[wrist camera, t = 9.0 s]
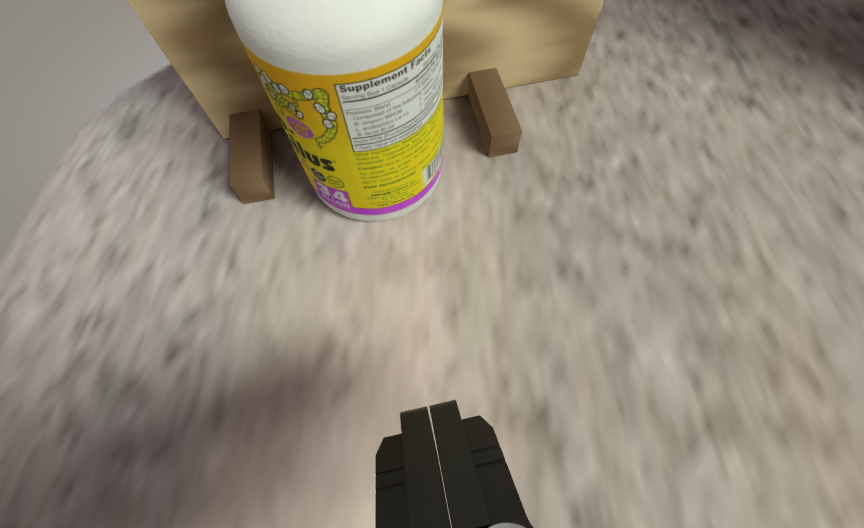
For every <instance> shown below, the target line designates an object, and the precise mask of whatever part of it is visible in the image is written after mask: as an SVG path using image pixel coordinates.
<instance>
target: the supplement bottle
mask: <svg viewBox="0 0 864 528" xmlns="http://www.w3.org/2000/svg"><path fill="white" fill-rule="evenodd" d="M225 4H226V8H227V11H228V14H229V17H230V19H231V21H232V23H233V25H234V28H235V30H236V32H237V34H238V36H239V38H240V40H241V42H242V44H243V46H244V48H245V50H246V52H247V54H248V56H249V58H250V60H251V62H252V64H253V66H254V68H255V70H256V72H257V74H258V76H259V78H260V80H261V82H262V84H263V86H264V89H265V91H266V93H267V95H268V97H269V99H270V101H271V103H272V105H273V107H274V109H275V111H276V113H277V115H278V117H279V119H280V121H281V123H282V126H283V128H284V130H285V132H286V135H287V136H288V138H289V140H290V142H291V144H292V146H293V148H294V150H295V152H296V154H297V156H298V158H299V160H300V162H301V164H302V166H303V168H304V170H305V172H306V174H307V176H308V178H309V180H310V182H311V184H312V186H313V188H314V190H315V191H316V193H317V194H318V196H319V197H320V198H321V200H322V201H323V202H324V203H325V204H326V205H327V206H329V207H330V208H331V209H333V210H334V211H336V212H337V213H339V214H341V215H343V216H346V217H348V218H351V219H355V220H360V221H370V222H375V221H386V220H391V219H395V218H398V217H401V216H403V215H405V214H407V213H409V212H410V211H412V210H414V209H415V208H417V207H418V206H420V205H421V204H422V203H423V202H424V201H425V200H426V199H427V198H428V197H429V196H430V195H431V193H432V192H433V191H434V189H435V187H436V186H437V184H438V181H439V179H440V176H441V172H442V165H443V0H225Z"/></svg>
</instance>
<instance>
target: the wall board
mask: <svg viewBox="0 0 864 528" xmlns="http://www.w3.org/2000/svg"><path fill="white" fill-rule="evenodd" d="M127 1H128V2H129V4H130V5H131V7H132V8H133V9H134V11H135V12H136V14H137V15H138V17H139V18H140V19H141V21H142V22H143V24H144V25H145V27H146V28H147V29H148V31H149V32H150V34H151V35H152V36H153V38H154V40H155V41H156V42H157V44H158V45H159V47H160V48H161V50H162V51H163V52H164V54H165V55H166V57H167V58H168V59H169V61H170V62H171V64H172V65H173V67H174V68H175V70H176V71H177V72H178V74H179V75H180V77H181V78H182V80H183V81H184V82H185V84H186V85H187V87H188V88H189V90H190V91H191V92H192V94H193V95H194V97H195V98H196V100H197V101H198V102H199V104H200V105H201V107H202V108H203V110H204V111H205V112H206V114H207V115H208V117H209V118H210V120H211V121H212V122H213V124H214V125H215V127H216V128H217V130H218V131H219V132H220V134H221V135H222V137H223V138H224V139H226V138H230V187H231V188H232V189H233V191H234V192H235V193H236V194H237V196H238V197H239V198H240V199H241V201H242V202H243V203H244V204H247V203H252V202H258V201H263V200H268V199H273V198H275V196H274V180H273V163H272V147H271V130H276V129H282V128H283V126H282V123H281V121H280V119H279V117H278V115H277V113H276V111H275V109H274V107H273V105H272V103H271V101H270V99H269V97H268V95H267V93H266V91H265V89H264V86H263V84H262V82H261V80H260V78H259V76H258V74H257V72H256V70H255V68H254V66H253V64H252V62H251V60H250V58H249V56H248V54H247V52H246V50H245V48H244V46H243V44H242V42H241V40H240V38H239V36H238V34H237V32H236V30H235V28H234V25H233V23H232V21H231V19H230V17H229V14H228V11H227V8H226V4H225V0H127ZM603 3H604V0H443V99H448V98H454V97H459V96H465V95H468V98H469V101H470V104H471V107H472V110H473V113H474V116H475V119H476V121H477V124H478V127H479V130H480V133H481V136H482V139H483V142H484V145H485V147H486V150H487V153H488V156H489V157H493V156H498V155H504V154H509V153H514V152H517V150H518V146H519V142H520V137H521V133H522V130H521V127H520V125H519V122H518V120H517V118H516V115H515V113H514V110H513V108H512V105H511V103H510V100H509V98H508V95H507V93H506V90H505V88H509V87H515V86H520V85H526V84H531V83H537V82H542V81H548V80H553V79H559V78H565V77H570V76H576V75H578V74H579V71H580V68H581V65H582V62H583V60H584V57H585V54H586V51H587V48H588V46H589V43H590V40H591V37H592V34H593V31H594V29H595V26H596V23H597V20H598V17H599V14H600V12H601V9H602V6H603Z"/></svg>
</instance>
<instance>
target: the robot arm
mask: <svg viewBox="0 0 864 528" xmlns="http://www.w3.org/2000/svg"><path fill="white" fill-rule="evenodd" d="M429 407H430V413H431V418H432V423H433V429H434V434H435V439H436V445H437V450H438V455H439V460H438V455H437V451H436V446H435V441H434V437H433V432H432V427H431V422H430V418H429V413H428V409H427V407H422V408H418V409H414V410H409V411H405V412H401V413H400V418H401V430H402V434H398V435H393V436H389V437H385V438H383V441H382V443H381V445H380V447H379V449H378V451H377V454H376V528H451V525H452V528H533V527H532V525H531V524H530V522H529V520H528V518H527V516H526V513H525V511H524V508H523V506H522V503H521V500H520V498H519V495H518V492H517V490H516V487H515V485H514V482H513V479H512V477H511V474H510V471H509V469H508V466H507V464H506V462H505V458H504V456H503V453H502V450H501V448H500V446H499V443H498V440H497V437H496V435H495V432H494V429H493V427H492V426H490V425H489V424H488V423H487V422H486V421H485V420H484V419H483V418H482V417H481V416H480V415H479V416H475V417H471V418H466V419H462V420H461V416H460V413H459V409H458V406H457V402H456V400H453V401H448V402H444V403H439V404H435V405H431V406H429ZM439 461H440V465H439ZM440 466H441V471H442V476H441V471H440ZM442 477H443V481H442ZM443 482H444V487H445V492H444V487H443ZM445 493H446V498H447V503H446V498H445ZM447 504H448V508H447ZM448 509H449V514H450V519H449V514H448ZM450 520H451V525H450Z"/></svg>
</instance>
